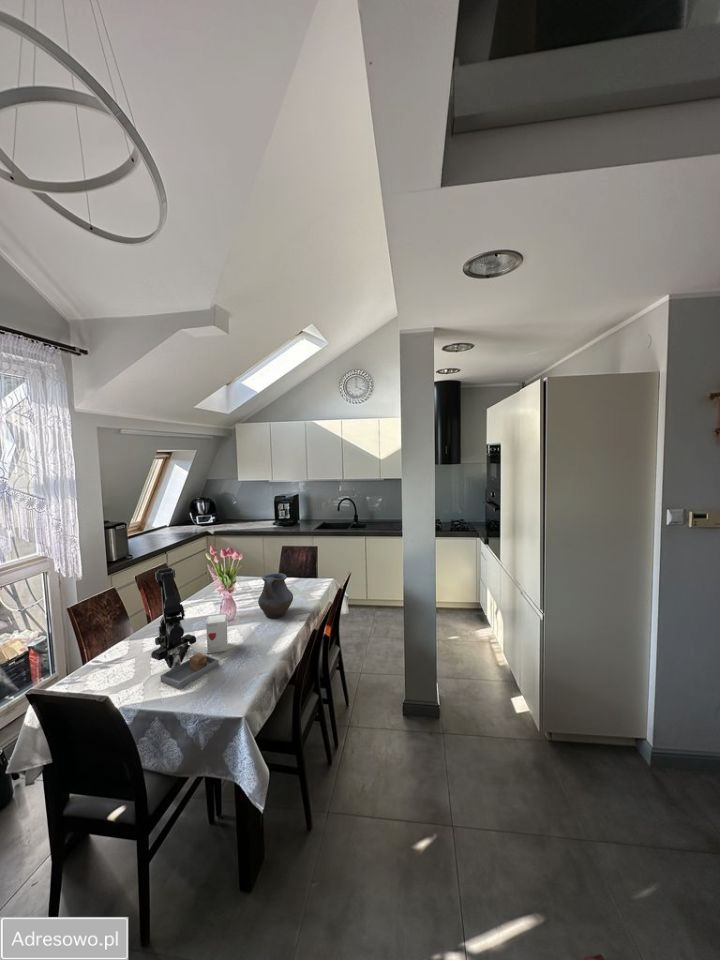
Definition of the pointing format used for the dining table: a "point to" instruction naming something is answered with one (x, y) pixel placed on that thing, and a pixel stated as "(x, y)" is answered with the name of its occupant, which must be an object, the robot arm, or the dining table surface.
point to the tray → (187, 673)
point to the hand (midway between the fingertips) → (175, 665)
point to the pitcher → (275, 596)
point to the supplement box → (216, 633)
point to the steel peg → (175, 660)
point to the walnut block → (198, 661)
